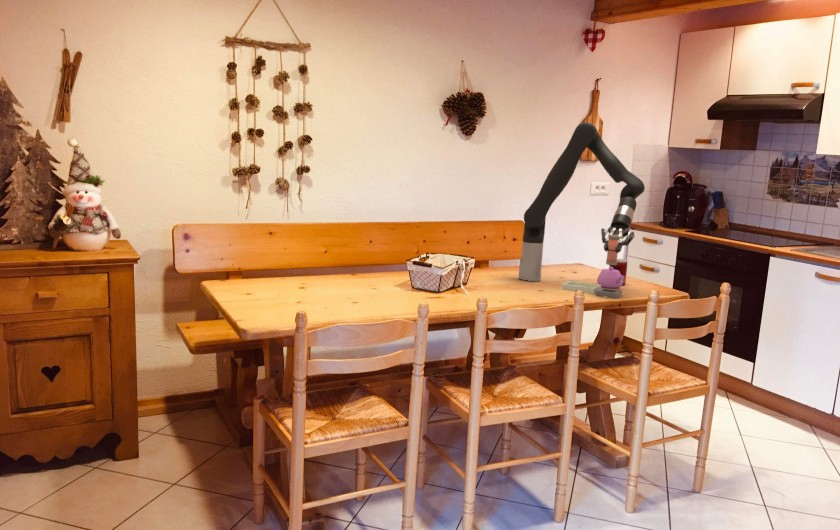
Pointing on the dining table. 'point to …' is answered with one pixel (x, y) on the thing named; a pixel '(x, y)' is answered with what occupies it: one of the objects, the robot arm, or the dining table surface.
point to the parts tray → (580, 287)
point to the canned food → (621, 268)
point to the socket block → (609, 293)
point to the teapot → (610, 278)
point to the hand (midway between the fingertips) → (611, 250)
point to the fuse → (612, 249)
